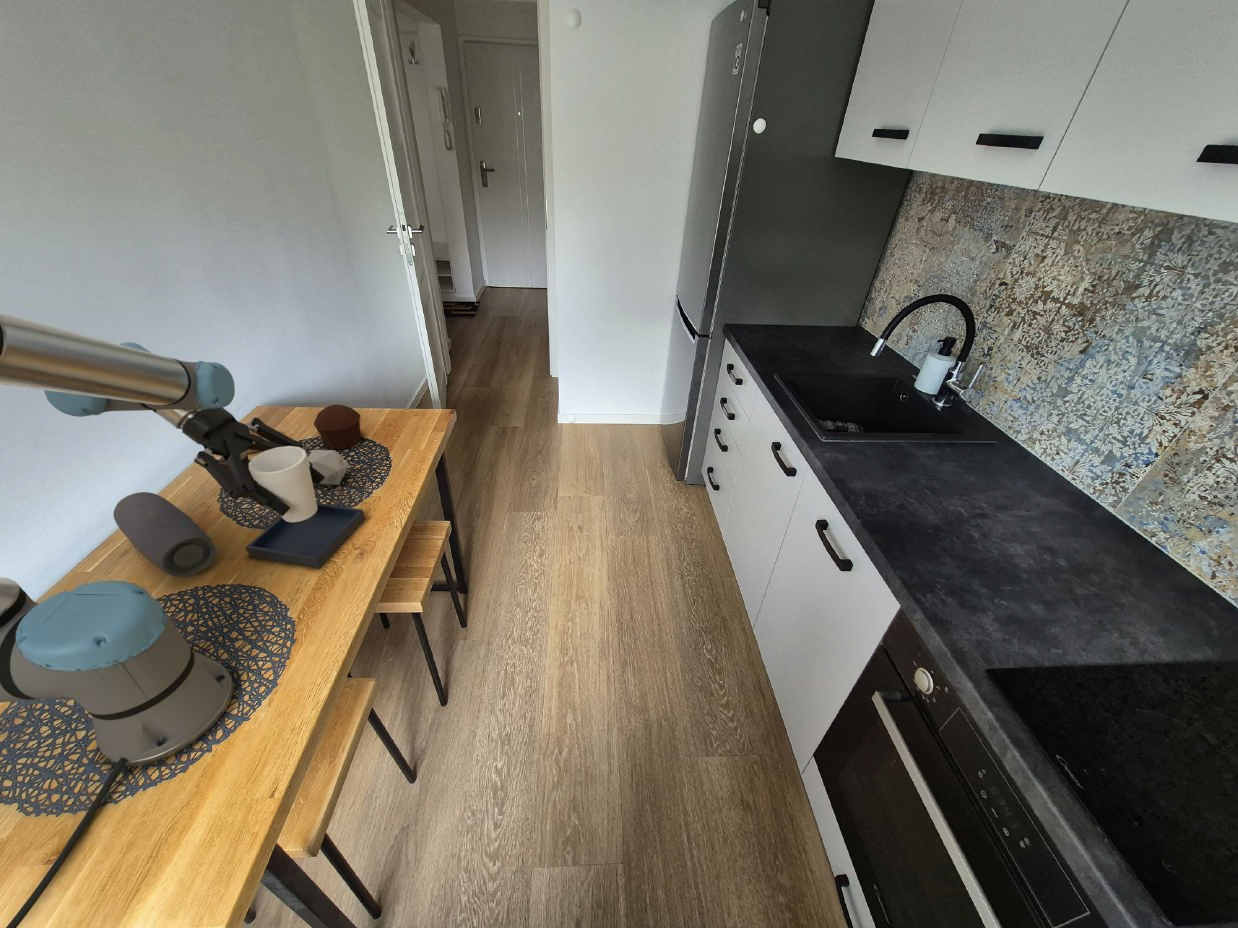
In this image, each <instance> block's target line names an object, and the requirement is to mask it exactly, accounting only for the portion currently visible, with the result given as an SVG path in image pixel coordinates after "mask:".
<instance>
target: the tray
mask: <svg viewBox="0 0 1238 928" xmlns="http://www.w3.org/2000/svg"><path fill="white" fill-rule="evenodd" d="M316 503H317V511H316V513H315V514H314V515H313V516H311V517H310V518H308V519H305V520H303V521H299V522H287V521H285V520H284V519H283V518H282V517H281V516H279V517H278V518H277V519H276V520H275V521H273V523H271V524H270V525H269V526H268V527H267V528H266V529H264V530H263V531H262V532H261V533H260V534H259V535H258V536H256V538H255V539H253V540H252V541H251V542H250V543H249V544H247V545H246V546H245V550H246V552H247V554H248V555H249V557H250V558H253V559H254V558H255V559H261V560H267V561H271V562H278V563H284V564H289V565H290V564H291V565H296V566H302V567H308V568H314V569H321V568H322V567H323V566H325V564H326V563H327V561H329V560H330V558H331V557H332V556H333V555H334V554H335V553H336V552H337V551H338V550H339V548H340V547H341V546H342V545H343V544H344V543H345V542H346V541H347V540H348V538H350V536H352V534H353V533H354V532H355V531H356V530H357V528H359V527H360V525H361V524H363V522H364V521H365V520H366V515H365V512H364V509H362V508H361V509H360V508H354V507H347V506H340V505H335V504H327V503H321V502H316Z"/></svg>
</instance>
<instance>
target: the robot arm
mask: <svg viewBox="0 0 1238 928" xmlns="http://www.w3.org/2000/svg"><path fill="white" fill-rule="evenodd" d="M0 385H1V386H9V387H18V388H25V389H33V390H41V391H43V392H44V396H45V397H46V400H47V401H48V402H49V404H50V405H51V406H52V407H53V408H55V409H56V410H57V411H59V412H61V413H62V414H64V415H68V416H72V417H76V418H77V417H78V418H81V417H82V418H84V417H89V416H100V415H101V414H104V413H107V412H129V411H130V412H134V411H135V412H136V411H139V412H141V411H152V412H154V413H155V414H156V415H157V416H159V417H160V418H161V419H163V420H164V421H165V422H166V423H168V424H169V425H170V426H172V427H173V428H175V429H176V430H181V432H182V434H184V436H186V437H188V438H189V439H190V440H192V442H194V443H196V444H198V445H201V446H202V447H203V449H204V450H200V451H198V452H197V454H196V456H195V457H194V459H193V462H194V463H196V464H197V465H199V467H202V468H204V469H205V471H207V472H208V473H209V475H211V477H212V478H213V479H214V480H215V481H216V483H217V484H218V485H219V486H220V487H221V488H222V489H223V490H224V492H225V493H226V494H227V495H228V496H229V497H230V498H231V499H232V500H233V501H238V500H239V499H240V498H243V499H247V498H249V499H251V500H252V501H253V502H255V503H256V504H258V505H259V506H261V507H266V506H267V507H268V508H270V509H271V510H272V511H274V512H275V513H276V514H277V515H279V516H280V515H281V516H283V515H285V514H286V512H287V511H288V510H289V509H290V507H289V506H288V505H286V504H285V503H283V502H282V501H281V500H279V499H278V498H277V497H275V496H274V495H273V494H271V493H270V492H268V491H267V490H266V489H264V488H263V487H262V486H260V485H259V484H258V486H257V487H256V488H255V486H254V485H253V483H252V481H251V479H250V477H249V475H248V473H247V471H246V469H245V467H244V465H243V463H242V461H241V459H240V454H241V453H242V452H245V451H247V450H248V449H250V450H258V451H257V452H260V453H262V452H264V451H267V450H270V449H273V448H276V447H284V446H294V447H300V448H302V449H304V444H303V443H301V442H300V441H297V440H295V439H293V438H292V437H290V436H288V435H286V434H284V433H282V432H281V431H278V430H276V429H275V428H273V427H271V426H268V425H267V424H266V423H265V422H264V421H262V420H261V418H259V417H258V416H257V417H253V418H252V420H251V421H249V422H247V423H243V422H240V421H238V420H237V419H236V417H235V416H234V415H233V413H231V412H230V411H228V410H227V409H226V408H225V407H228V406H229V405H230V404H231V403H232V402H233V400H234V398H235V394H236V393H235V392H236V389H235V380H234V377H233V374H232V373H231V372H230V370H229V368H227V367H226V366H225V365H223V364H222V363H220V362H211V361H203V360H198V361H185V360H181V359H177V358H173V357H169V356H163V355H159V354H156V353H153V352H151V351H149V349H147V348H146V347H143V346H142V345H141V344H139V343H136V342H133V341H131V342H130V341H128V342H121V343H120V344H119V343H115V342H111V341H108V340H103V339H100V338H96V337H92V336H89V335H85V334H81V333H77V332H74V331H71V330H66V329H63V328H60V327H56V326H51V325H48V324H43V323H41V322H36V321H32V320H29V319H25V318H22V317H21V318H20V317H17V316H13V315H11V314H6V313H2V312H0ZM251 433H256V434H258V435H259V436H257V435H254V434H251ZM260 436H261V437H260ZM262 437H263V438H265V439H267V440H269V441H267V440H264V439H262ZM253 441H254V443H253ZM215 456H220V457H222V458H223V460H224V462H225V464H226V465H228V466H229V468H230V470H231V472H232V474H233V476H234V478H235V480H236V481H235V480H234V479H233V478H232V476H231V475H230V474H229V473H228V472H227V471H226V470H225V468H224V467H223V466H222V465H221V464H220V463H219V462H218V461H217V460H218V459H217V458H216V457H215ZM216 459H217V460H216ZM309 463H310V466H309V469H310V474H311V479H312V483H313V484H315V485H316V486H319V485H321V484H320V483H321V482H322V480H323V479H324V478H325V476H323V475H322V474H321V473H320V472H318V471H317V470H316V469H314V468H313V467H312V466H313V464H312V463H311V462H310V461H309ZM281 516H280V517H281ZM234 688H235V684H234V679H233V677H232V675H231V673H230V672H229V671H228V669H227V668H226V667H225V666H224V665H223V664H221V663H220V662H219V661H217V660H216V659H215V660H214V659H213V658H210V657H208V656H206V655H204V654H202V653H199V652H197V651H195V650H193V649H192V648H191V646H190V645H189V644H188V642H187V640H186V639H185V637H184V635H182V633H181V631H180V630H179V629H178V628H177V626H176V625H175V624H174V621H173V620H172V619H171V618H170V616H169V615H168V613H167V612H166V610H165V608H164V607H163V606H162V604H161V603H160V602H159V601H158V600H157V599H156V598H154V597H153V596H152V595H151V594H150V593H149V592H148V591H147V590H146V589H145V588H144V587H142V586H140V585H138V584H136V583H133V582H129V581H126V580H125V581H124V580H99V581H93V582H92V581H91V582H88V583H83V584H79V585H76V587H75V589H73V590H70V591H68V590H62V591H60V592H58V593H56V594H53V595H51V596H49V597H48V598H46V599H44V600H43V601H41V602H40V603H39V602H36V601H34V600H33V599H32V598H31V597H30V596H29V595H28V593H27V592H26V591H25V590H24V588H22V586H20V585H19V583H18V582H16V580H14V579H12V578H9V577H4V576H0V703H1V704H2V703H10V702H20V701H31V700H39V699H40V700H41V699H52V698H53V699H54V698H69V699H72V700H73V701H74V702H76V703H77V704H78V705H79V706H80V707H81V708H82V709H83V710H85V711H86V712H87V713H88V714H89V715H90V716H91V720H92V726H93V730H94V735H95V741H96V745H97V747H98V749H99V751H100V752H101V754H102V755H103V756H104V757H105V758H107V760H109V761H110V762H112V763H113V764H115V766H114V767H113V769H112V771H111V772H110V774H109V775H108V777H107V778H106V780H105V782H104V783H103V785H102V787H101V789H100V790H99V792H98V793H97V795H96V797H95V798H94V800H93V801H92V803H91V805H90V806H89V807H88V810H87V811H86V813H85V815H84V817H82V820H81V821H80V823H79V824H78V826H77V827H76V828H75V830H74V831H73V833H72V834H71V836H70V838H69V839H68V841H67V842H66V844H65V846H64V847H63V848H62V850H61V852H60V853H59V855H58V856H57V858H56V859H55V861H53V862H54V863H53V864H52V865H51V867H50V868H49V870H47V872H46V874H45V875H44V876H43V878H42V879H41V880H40V882H39V883H38V885H37V886H36V887H35V888H34V890H33V892H32V893H31V894H30V895H29V896H28V898H27V899H26V900H25V902H24V904H23V905H22V907H20V908H19V910H18V912H17V913H16V914H15V915H14V916H13V918H12V919H11V920H10V922H9V923H8V924H7V926H6V927H5V928H18V926H19V925H20V924H21V922H22V921H23V920H24V919H25V918H26V916H27V915H28V914H29V912H30V911H31V910H32V908H33V907H34V906H35V904H36V903H37V902H38V901H39V899H40V898H41V896H42V895H43V893H44V892H45V891H46V889H47V888H48V886H49V885H50V884H51V882H52V881H53V879H54V878H55V876H56V875H57V874H58V872H59V871H60V870H61V868H62V866H63V865H64V863H65V862H66V860H67V859H68V857H69V856H70V854H71V852H72V851H73V849H74V848H75V846H76V845H77V844H78V841H79V840H80V838H81V837H82V836H83V834H84V832H85V831H86V829H87V827H88V826H89V824H91V823H90V822H91V821H92V820H93V818H94V816H95V815H96V813H97V811H98V810H99V808H100V807H101V805H102V803H103V802H104V799H105V798H106V796H107V794H108V793H109V791H110V789H111V788H112V786H113V785H114V783H115V781H116V779H117V778H118V776H119V774H120V773H121V771H122V770H123V768H124V767H141V766H147V765H151V764H154V763H157V762H160V761H163V760H165V759H168V758H170V757H172V756H174V755H176V754H178V753H180V752H181V751H183V750H185V749H186V748H188V747H190V746H191V745H193V744H194V743H195V742H197V741H198V740H199V739H200V738H202V737H203V736H205V734H206V733H208V732H209V731H210V730H211V729H212V728H213V727H214V726H215V724H217V723H218V722H219V720H220V719H221V717H222V716H223V715H224V714H225V712H226V710H227V709H228V707H229V706H230V703H231V701H232V698H233V695H234V691H235V689H234Z"/></svg>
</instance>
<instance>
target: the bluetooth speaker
mask: <svg viewBox="0 0 1238 928" xmlns="http://www.w3.org/2000/svg"><path fill="white" fill-rule="evenodd" d="M113 519H114V522H115V525H116V526H117V527H118V528H119V530H120V531H121V532H122V533H123V534H124V536H125V537H126V538H127V539H128V541H129V542H130V543H131V544H132V545H133V547H135V548H136V550H137V551H138V552H139V553H140V554H141V555H143V556H144V557H145V558H146V560H148V561H149V562H150V563H152V564H153V565H154V566H156V567H157V568H158V569H159V570H161V571H162V572H164V573H165V574H167V575H169V576H171V577H174V578H189V577H192V576H195V575H196V574H199V573H200V572H203V571H204V570H205V569H207V568H209V566H211V565H212V564H213V562H214V561H215V559H216V557H217V551H218V550H217V545H216V544H215V542H214V541H213V540H212V538H211V537H210V536H209V535H208V534H207V533H206V531H204V530H203V529H202V528H201V526H199V525H198V524H197V523H196V522H195V521H194V520H193V518H192V517H190V515H188V514H187V513H185V512H184V511H182V510H181V509H180V508H179V507H177V506H176V505H175V504H173V503H172V502H170V501H169V500H167V499H166V498H164V497H163V496H161V495H159V494H157V493H153V492H148V491H140V492H135V493H132V494H129V495H127V496H125V497H123V498H122V499H120V500H119V502H117V503H116V505H115V507H114V510H113Z"/></svg>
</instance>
